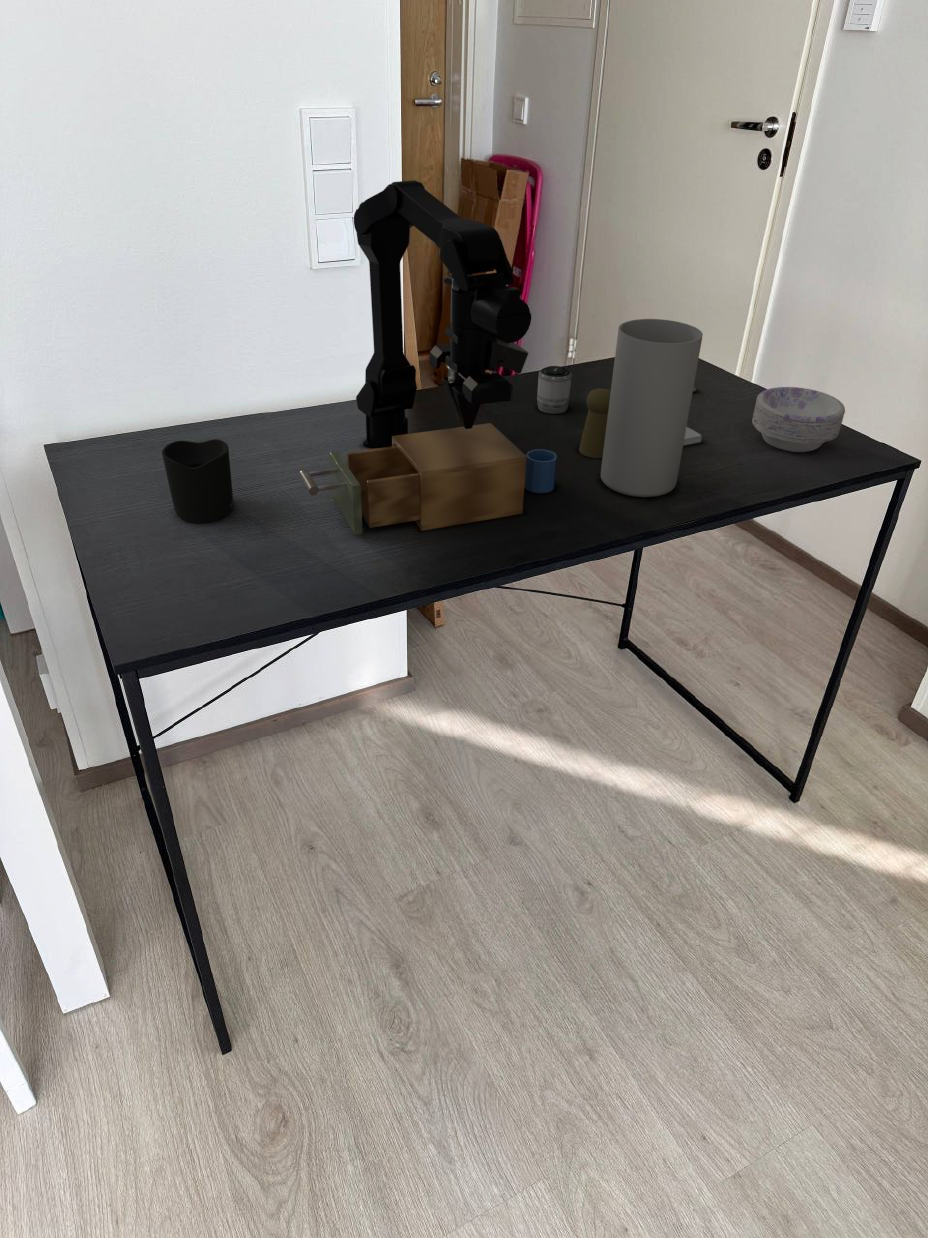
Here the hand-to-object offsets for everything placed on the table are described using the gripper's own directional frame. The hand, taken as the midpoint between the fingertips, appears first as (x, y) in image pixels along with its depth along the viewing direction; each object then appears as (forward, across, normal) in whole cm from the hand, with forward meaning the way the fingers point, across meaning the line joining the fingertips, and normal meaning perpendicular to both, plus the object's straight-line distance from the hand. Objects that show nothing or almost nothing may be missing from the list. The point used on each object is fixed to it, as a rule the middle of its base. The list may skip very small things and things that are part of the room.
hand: (467, 427), depth 136 cm
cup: (+12, +1, -13) cm, 18 cm away
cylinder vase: (+12, -3, -30) cm, 32 cm away
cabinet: (+12, 0, +2) cm, 12 cm away
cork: (+12, +11, -29) cm, 33 cm away
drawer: (+11, -1, +15) cm, 19 cm away
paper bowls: (+12, +3, -65) cm, 66 cm away
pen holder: (+12, +9, +39) cm, 42 cm away
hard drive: (+12, +11, -42) cm, 45 cm away
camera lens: (+12, +31, -30) cm, 45 cm away
